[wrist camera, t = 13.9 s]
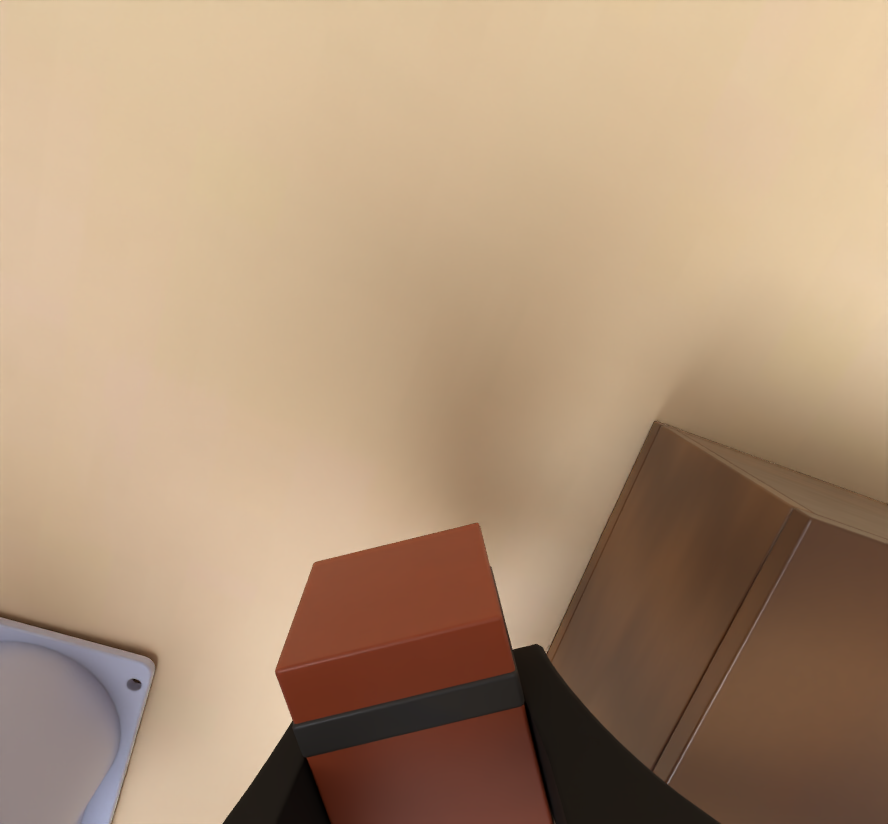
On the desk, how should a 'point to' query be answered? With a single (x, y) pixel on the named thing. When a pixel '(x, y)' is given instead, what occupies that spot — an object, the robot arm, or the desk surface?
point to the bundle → (411, 688)
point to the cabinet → (739, 635)
